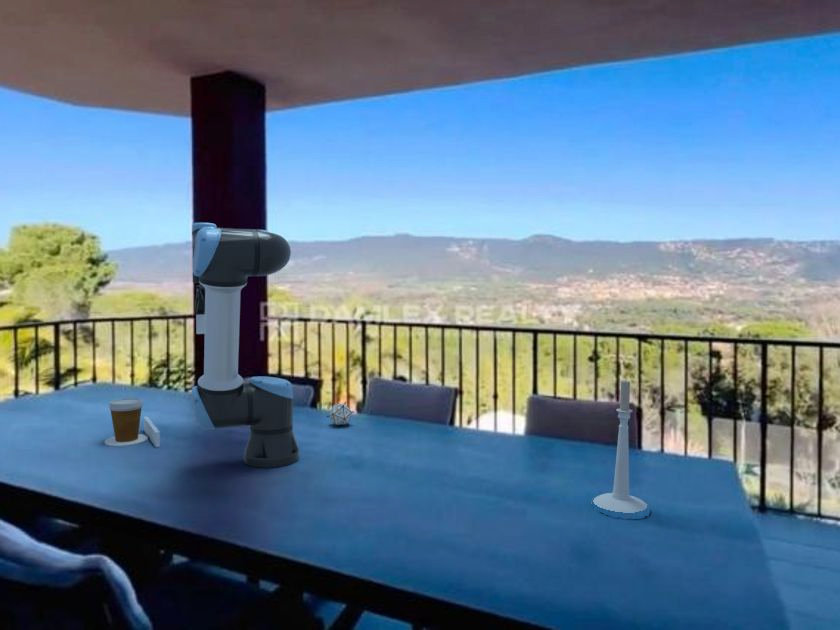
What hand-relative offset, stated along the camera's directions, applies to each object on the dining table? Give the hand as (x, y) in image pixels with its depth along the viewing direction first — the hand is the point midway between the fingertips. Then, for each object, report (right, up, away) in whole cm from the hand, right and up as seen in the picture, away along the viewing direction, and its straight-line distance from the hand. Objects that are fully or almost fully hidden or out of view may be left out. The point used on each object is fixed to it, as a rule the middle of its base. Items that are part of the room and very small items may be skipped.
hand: (205, 335), depth 193 cm
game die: (+43, -32, +12) cm, 54 cm away
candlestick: (+116, -38, -58) cm, 135 cm away
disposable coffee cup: (-21, -32, -10) cm, 40 cm away
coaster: (-21, -32, -10) cm, 40 cm away
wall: (-15, -32, -7) cm, 36 cm away
